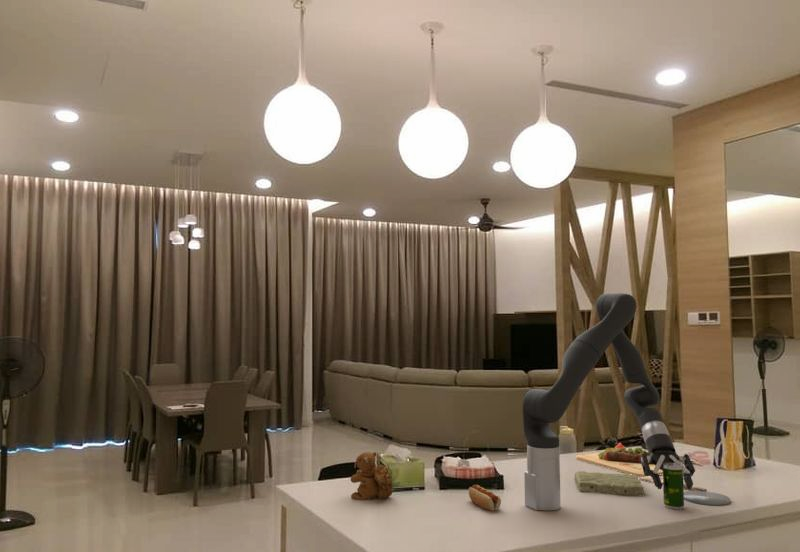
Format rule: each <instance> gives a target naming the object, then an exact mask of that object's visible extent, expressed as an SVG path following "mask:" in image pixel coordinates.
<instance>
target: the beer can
mask: <svg viewBox="0 0 800 552" xmlns="http://www.w3.org/2000/svg"><path fill="white" fill-rule="evenodd" d="M663 465H664V466H663V475H662V478H663V484H662V488H663V489H662V490H663V504H664V506H665V508H667V509H672V510H682V509H684V506H685V499H684V492H685V489H684V486H683V483H684V479H683V478H684V477H683V468H682V465H681V464H679V463H670V462H668V463H664V464H663Z"/></svg>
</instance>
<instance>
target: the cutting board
mask: <svg viewBox="0 0 800 552" xmlns="http://www.w3.org/2000/svg"><path fill="white" fill-rule="evenodd" d="M643 454H646V456H650V455H649V452H648V451H647V450H643V448H642V447H637V446H635V447H634V449H632V447H628V448H626V446H624V445H623V444H622V442H618V443H617V445H615V447H607V448H605V449H604V450H603V452H596V453H595V452H594V453H587V454H586V453H585V454H577V455H575V458H576V460H578V461H581V462H584V463H588V464H591V465H594V464H595V466H598V465H599V467H601V466H603V467H602V468H605V467H606V468H605V469H608V468H610V469H609V470H612V469H614V470H613V471H615V470H617V471H616V472H619V471H621V472H620V473H622V472H624V473H623V474H626V473H628V474H632V475H636V476H643V477H646V476H645V475H644V472H643V468H642V464H641V460H640V459H641V457H642V455H643ZM649 466H650V470H654V468H655V465H654V464H653V463H652V462H651V461H649ZM657 474H659V476H661V475H660V474H663V471H662V470H661V469H659V471H658V473H657Z"/></svg>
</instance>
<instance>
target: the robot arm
mask: <svg viewBox="0 0 800 552" xmlns="http://www.w3.org/2000/svg"><path fill="white" fill-rule="evenodd" d="M595 303H596V304H595V310H596V314H597V317H598V319H599V322H598V323H596V324H595V325H593V326H591V327H590V328H588V329H587V330H585V331H583V332H582V333H581V334H579V335H578V336H577V337H576V338H575V339H574V340H573V341H572V343H571V344H570V345H569V347H568V348H567V349H566V350H565V352H564V355H563V357H562V362H561V363H562V364H561V374H560V376H559V377H558V379H557V380H556V381H555V383H554V384H553V385H552V386H551V387H550V388H549V389H540V388H532V389H529V390H528V391H527V392H525V395H524V397H523V401H522V423H523V432H524V433H523V434H524V437H525V439H526V465H527V466H526V468H527V470H526V471H524V473H523V474H524V505H525V506H526V507H528V508H531V509H532V510H534V511H548V512H549V511H556V510H559V509H561V507H562V506H561V463H560V461H561V459H560V455H561V454H560V437H559V436H558V435H557V433H556V432H554V430H552V429H551V427H550V424H555V423H557V422H558V421H559V420H561V419H562V417H563V416H564V414H565V413H566V411H567V409H568V408H569V406H570V405H571V402H572V401H573V398H574V397H575V395H576V394H577V392H578V390H579V388H580V387H581V386H582V384H583V383H584V382H585V379H586V378H587V377H588V375H589V374H590V373H591V371H592V370H593V369H594V368H595V366H596V365H597V363H599V360H600V359H601V357H602V356H603V355H604V353H605V352H606V351H607V349H608V348H609V346H610V345H612V347H613V349H614V352H615V354H616V356H617V360H618V362H619V366H620V368H621V372H622V375H623V378H624V380H625V382H626V383H627V384H641V385H639V386H635V387H630V388H628V389H626V390H625V392H624V395H623V397H624V401H625V403H626V405H627V406H628V408H629V409H630V410H631V412H632V413H633V414H634V416H635V417H636V419H637V422H638V423H639V426H640V429H641V433H642V438H643V441H644V444H645V446H646V449H647V452H649V455H650V456H646V454H643V455H642V457H641V459H640V460H641V464H642V468H643V472H644V475H645V476H651V477H652V478H653V481H654V483H653V484H654V487H655V488H657V489H658V490H662V488H663V484H662V482H661V479H660V478H661V477H660V475H659V474H657V473H658V471H659V469H661V470H662V471H663V466H664V465H663V464H664V463H668V462H670V463H679V464H681V465H682V468H683V482H684V484H686V486H687V489H691V488H692V486H694V481H693V479H692V477H693V476H694V473H695V472H696V469H695V467H694V465H693V462H692V461H691V458H690V456H689V455H688V454H687V453H685V454H684V455H678V454H677V452H676V449H675V445H674V443H673V440H672V438H671V435H670V432H669V430H668V428H667V426H666V424H665V422H664V420H663V416H662V414H661V413H660V411H659V410H658V409H657V408H655V407H654V406H657V405H658V404H659V403H660V399H661V396H660V394H659V393H660V392H659V391H658V390H657V388H656V387H655V385H654V383H652V380H651V379H650V377H649V375H648V374H647V370H646V367H645V364H644V360H643V358H642V355H641V353H640V351H639V350H638V348H637V347H636V345H635V344H634V343H633V342H632V340H630V338H629V337H628V336H627V335H626V333H625V331H624V329H625V327H627V326H628V325H629V323H630V322H631V321H632V320H633V318H634V316H635V314H636V311H637V301H636V299H635V297H634V296H632V295H631V294H628V293H623V292H621V293H620V292H619V293H618V292H617V293H616V292H615V293H603V294H601V295H599V297H598V298H597V300H596V302H595ZM649 461H651V462H652V463H653V464H654V465H655V468H654V470H650V466H649ZM687 489H686V490H687Z"/></svg>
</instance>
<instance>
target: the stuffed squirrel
mask: <svg viewBox="0 0 800 552" xmlns="http://www.w3.org/2000/svg"><path fill="white" fill-rule="evenodd" d="M376 457H377V452H375V451H373V452H367V451H366V452H363V453H361V454H359V455H357V457H356V459H355V463H354V468H355V469H356V466H357V468H359V469H358V470H356V472H355V474H353V475H352V476H351V477H350V482H351V483H353V484H356V483H359V484H358V487H357V489H356V491H355V492H353V493H351V494H350V497H351V499H354V500H360V501H361V500H362V501H366V500H373V499H378V500H385V499H386V498H389V497H391V496H392V495H393V493H394V491H395V489H394V488H393V485H394V483H393V480H392V479H393V476H392V475H391V473H390V472H389V468H388V467H387V466H386V465H381V464H380V465H378V466H376Z"/></svg>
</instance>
